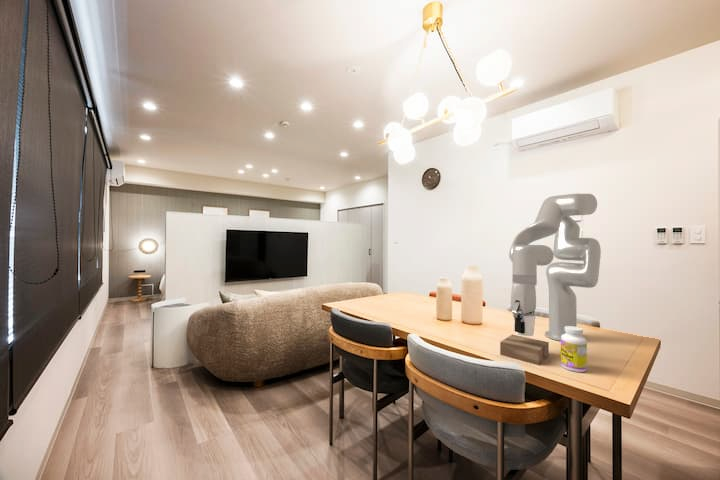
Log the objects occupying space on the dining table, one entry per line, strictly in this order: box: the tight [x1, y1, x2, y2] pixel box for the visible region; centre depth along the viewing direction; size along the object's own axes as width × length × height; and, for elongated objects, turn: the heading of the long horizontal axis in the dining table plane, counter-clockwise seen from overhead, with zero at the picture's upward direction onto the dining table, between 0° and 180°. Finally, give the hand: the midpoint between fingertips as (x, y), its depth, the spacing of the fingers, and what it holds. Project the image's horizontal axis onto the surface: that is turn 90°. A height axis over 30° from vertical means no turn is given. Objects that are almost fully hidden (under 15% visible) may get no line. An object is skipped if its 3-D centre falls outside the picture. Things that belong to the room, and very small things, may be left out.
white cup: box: [513, 313, 536, 337], centre depth 103 cm, size 7×7×7 cm
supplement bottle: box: [560, 326, 588, 373], centre depth 92 cm, size 7×7×13 cm
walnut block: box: [499, 334, 550, 366], centre depth 103 cm, size 12×12×5 cm
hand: (524, 330), depth 103 cm, fingers closed on white cup, 6 cm apart
